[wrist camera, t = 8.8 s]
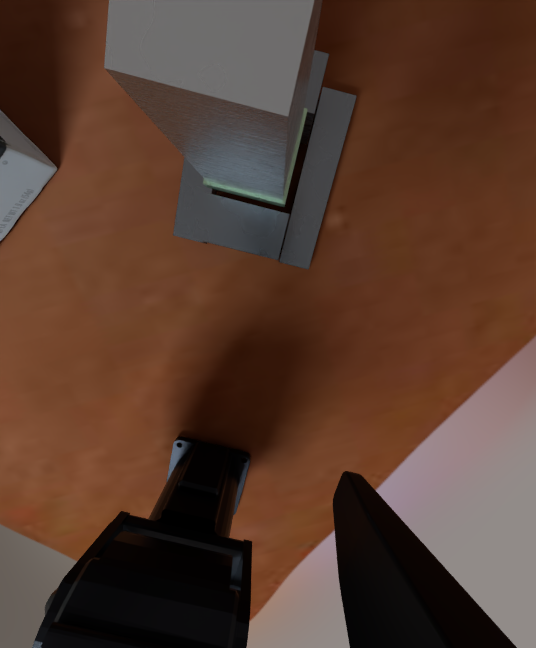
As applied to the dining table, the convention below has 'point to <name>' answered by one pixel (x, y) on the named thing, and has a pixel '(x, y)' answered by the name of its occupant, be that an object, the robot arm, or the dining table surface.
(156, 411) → the dining table surface
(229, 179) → the grey rectangular block
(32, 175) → the tea box
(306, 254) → the grey square frame
